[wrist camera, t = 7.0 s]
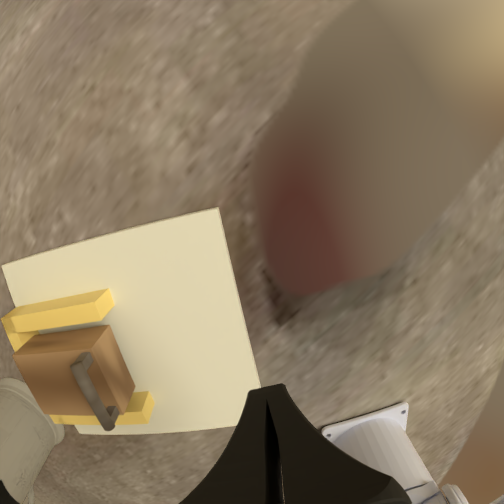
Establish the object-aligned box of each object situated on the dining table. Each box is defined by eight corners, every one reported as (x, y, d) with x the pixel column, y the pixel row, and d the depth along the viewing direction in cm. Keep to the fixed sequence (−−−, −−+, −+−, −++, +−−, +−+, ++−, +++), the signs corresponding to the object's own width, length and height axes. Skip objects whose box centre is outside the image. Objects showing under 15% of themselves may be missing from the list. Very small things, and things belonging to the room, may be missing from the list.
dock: (267, 411, 23) (271, 441, 20) (83, 426, 23) (70, 451, 20) (218, 206, 19) (214, 213, 16) (8, 262, 19) (-18, 275, 16)
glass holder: (51, 389, 22) (-30, 509, 8) (87, 481, 25) (51, 580, 11) (-15, 368, 22) (-97, 455, 7) (26, 460, 25) (-19, 543, 10)
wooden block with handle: (138, 380, 21) (115, 433, 15) (64, 385, 21) (33, 429, 15) (113, 319, 20) (78, 364, 14) (38, 331, 20) (-2, 368, 14)
